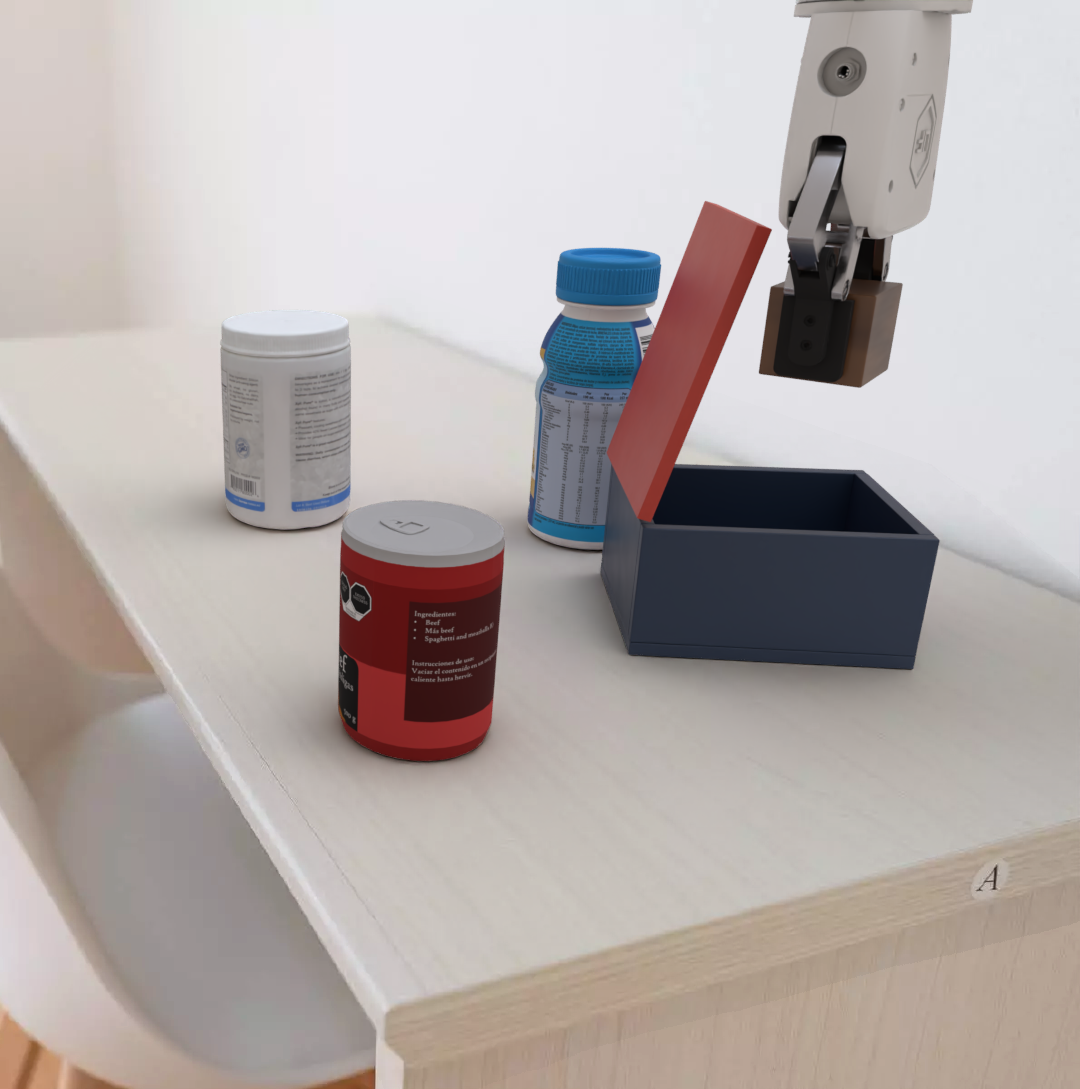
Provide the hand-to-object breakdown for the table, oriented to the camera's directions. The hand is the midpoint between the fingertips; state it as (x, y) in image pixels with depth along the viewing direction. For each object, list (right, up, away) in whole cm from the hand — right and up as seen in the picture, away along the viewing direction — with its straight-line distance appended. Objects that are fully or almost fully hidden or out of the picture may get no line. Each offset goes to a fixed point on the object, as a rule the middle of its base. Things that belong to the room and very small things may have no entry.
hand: (824, 363), depth 64 cm
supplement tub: (-27, -7, +31) cm, 42 cm away
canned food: (-21, -19, 0) cm, 28 cm away
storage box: (+1, -14, +12) cm, 19 cm away
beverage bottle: (-6, -9, +26) cm, 28 cm away
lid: (-5, +1, +7) cm, 9 cm away
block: (0, 0, 0) cm, 0 cm away
